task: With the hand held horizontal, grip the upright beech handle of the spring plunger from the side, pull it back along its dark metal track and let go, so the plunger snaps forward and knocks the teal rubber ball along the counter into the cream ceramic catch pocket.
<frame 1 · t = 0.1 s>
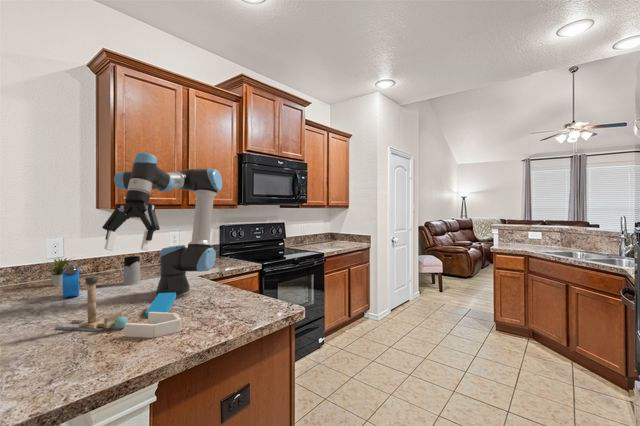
hand: (126, 249, 106), 28 cm above the worktop, tool tilted 20°, fingers open, 13 cm apart
teal rectangular slab: (163, 310, 127), on the worktop
track: (92, 326, 108), on the worktop
pocket: (170, 330, 105), on the worktop
glass holder: (128, 283, 175), on the worktop
house plant: (62, 285, 171), on the worktop
alarm clock: (71, 296, 148), on the worktop
plunger: (99, 302, 108), point 9 cm above the worktop, slide at 0.0 cm
ball: (121, 322, 107), point 2 cm above the worktop
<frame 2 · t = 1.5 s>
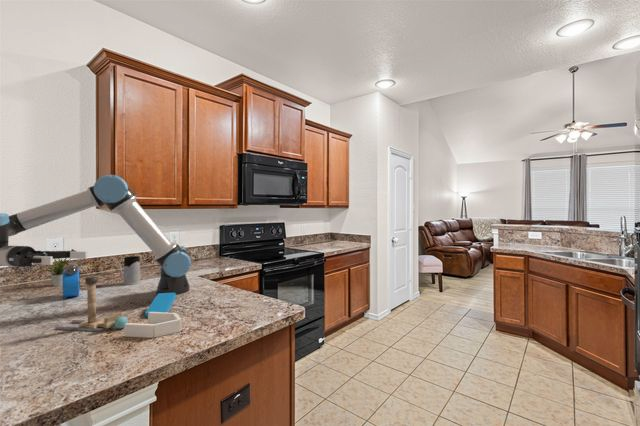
hand: (70, 257, 109), 25 cm above the worktop, tool horizontal, fingers open, 13 cm apart
nothing on the worktop moved.
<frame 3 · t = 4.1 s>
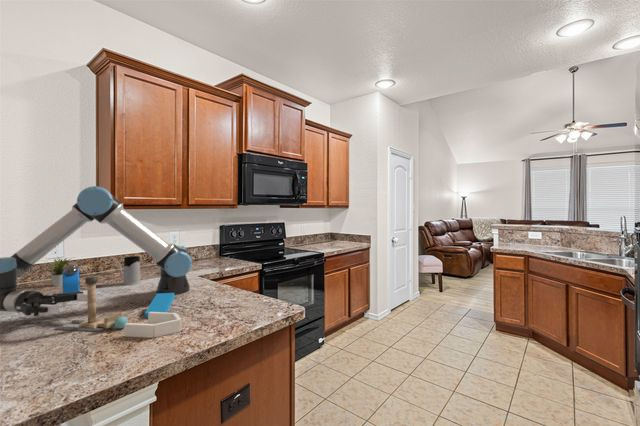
hand: (76, 303, 109), 8 cm above the worktop, tool horizontal, fingers open, 13 cm apart
nothing on the worktop moved.
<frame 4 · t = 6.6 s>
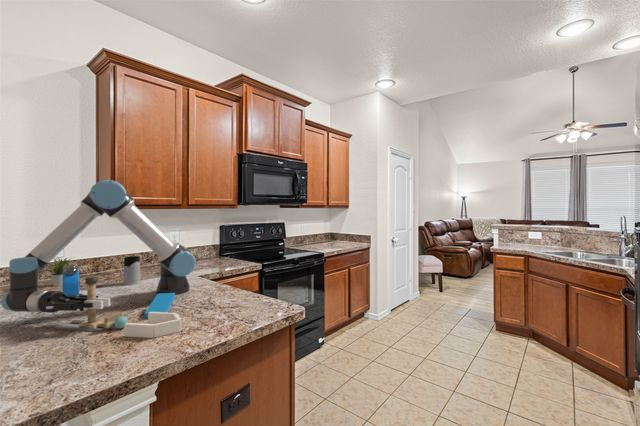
hand: (105, 303, 108), 8 cm above the worktop, tool horizontal, fingers closed on plunger, 2 cm apart
plunger: (99, 302, 108), point 9 cm above the worktop, slide at 0.0 cm, touching gripper
everything else where it was.
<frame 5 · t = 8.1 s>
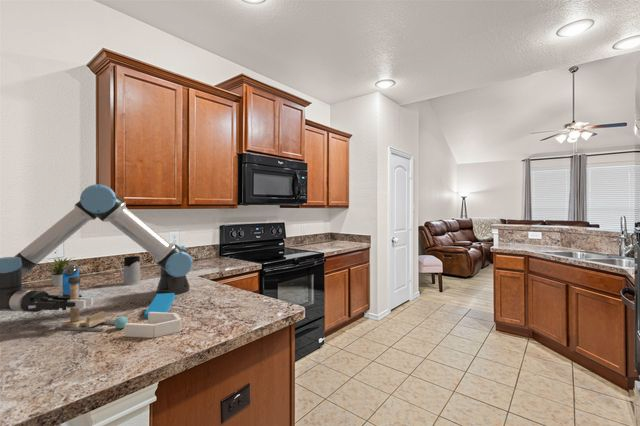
hand: (88, 302, 109), 8 cm above the worktop, tool horizontal, fingers closed on plunger, 2 cm apart
plunger: (82, 301, 109), point 9 cm above the worktop, slide at 6.9 cm, touching gripper
everything else where it was.
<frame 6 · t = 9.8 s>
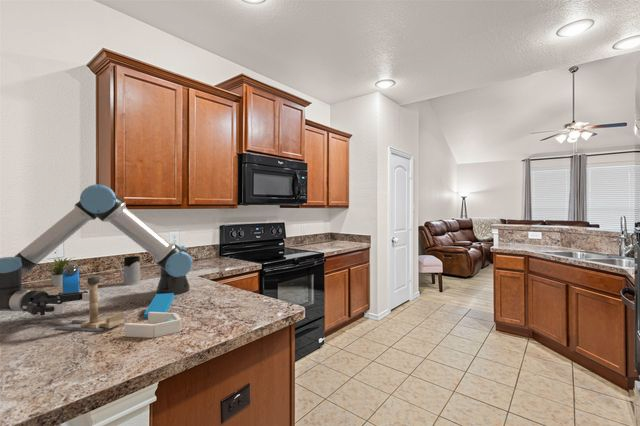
hand: (82, 302, 109), 8 cm above the worktop, tool horizontal, fingers open, 13 cm apart
plunger: (101, 302, 108), point 9 cm above the worktop, slide at -0.8 cm
ball: (169, 324, 105), point 2 cm above the worktop, tilted 150°, touching pocket
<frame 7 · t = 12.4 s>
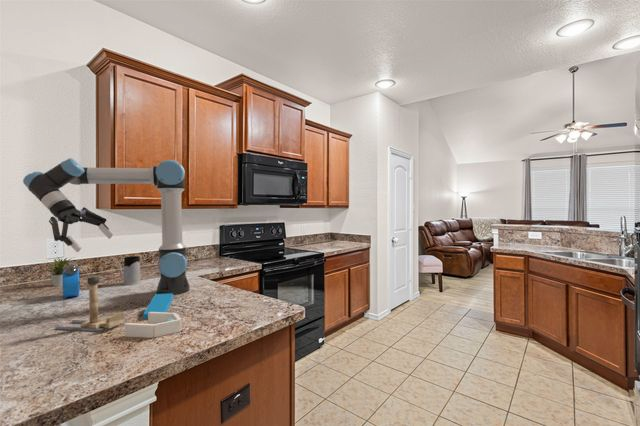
hand: (95, 243, 124), 28 cm above the worktop, tool tilted 40°, fingers open, 13 cm apart
ball: (169, 324, 105), point 2 cm above the worktop, tilted 150°
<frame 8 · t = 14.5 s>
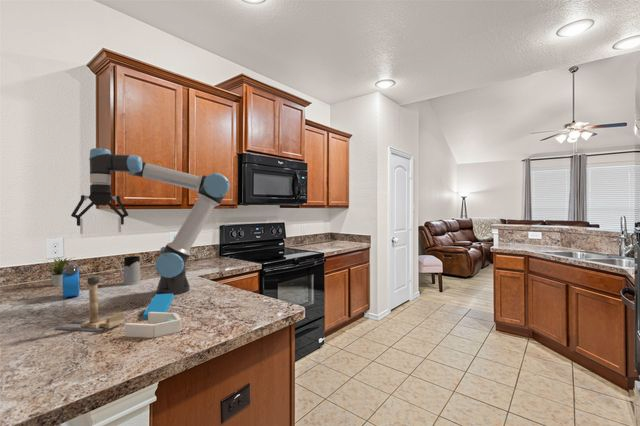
hand: (101, 232, 134), 32 cm above the worktop, tool pointing down, fingers open, 13 cm apart
at the end: ball 0.2 cm from the pocket (horizontally); ball point 2.0 cm above the worktop; plunger slide at -0.8 cm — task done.
